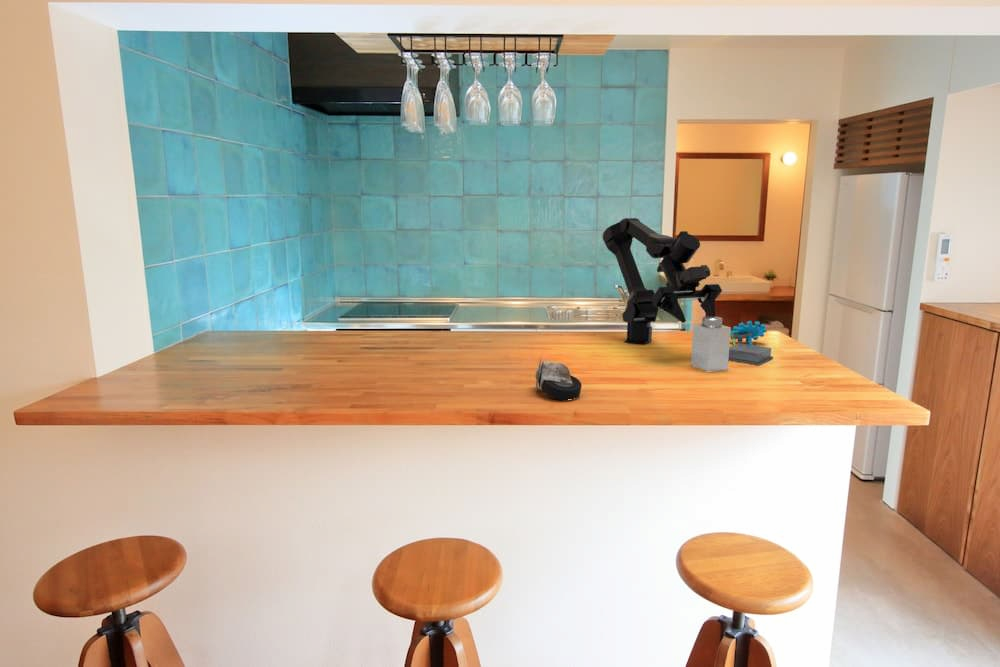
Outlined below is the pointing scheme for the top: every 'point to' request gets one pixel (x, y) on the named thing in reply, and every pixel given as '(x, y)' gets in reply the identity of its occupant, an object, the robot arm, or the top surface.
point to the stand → (749, 354)
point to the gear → (747, 332)
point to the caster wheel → (557, 381)
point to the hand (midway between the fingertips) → (699, 320)
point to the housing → (710, 344)
